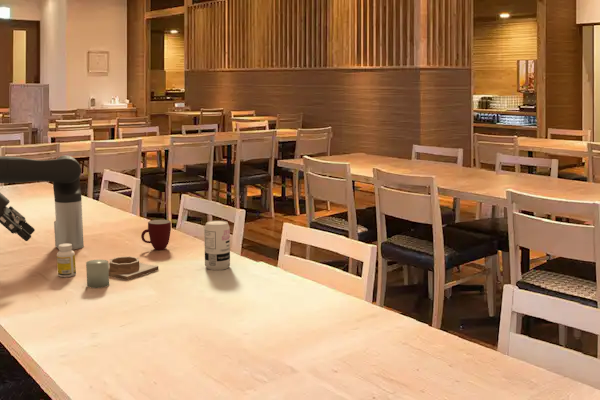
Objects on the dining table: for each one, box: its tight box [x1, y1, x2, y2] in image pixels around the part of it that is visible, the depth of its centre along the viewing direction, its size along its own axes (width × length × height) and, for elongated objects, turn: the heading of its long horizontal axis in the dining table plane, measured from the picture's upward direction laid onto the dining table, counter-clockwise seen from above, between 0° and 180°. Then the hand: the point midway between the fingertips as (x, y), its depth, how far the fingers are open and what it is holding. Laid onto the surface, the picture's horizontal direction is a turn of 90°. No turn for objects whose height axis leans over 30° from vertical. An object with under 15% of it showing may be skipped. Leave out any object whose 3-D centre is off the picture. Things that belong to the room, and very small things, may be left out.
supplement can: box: [203, 220, 231, 271], centre depth 231 cm, size 8×8×15 cm
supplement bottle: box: [56, 243, 77, 278], centre depth 221 cm, size 5×5×10 cm
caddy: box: [108, 255, 159, 281], centre depth 226 cm, size 16×14×4 cm
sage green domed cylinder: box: [85, 259, 110, 289], centre depth 211 cm, size 6×6×7 cm
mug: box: [141, 219, 172, 251], centre depth 254 cm, size 11×8×10 cm
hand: (31, 235), depth 216 cm, fingers open, 8 cm apart
